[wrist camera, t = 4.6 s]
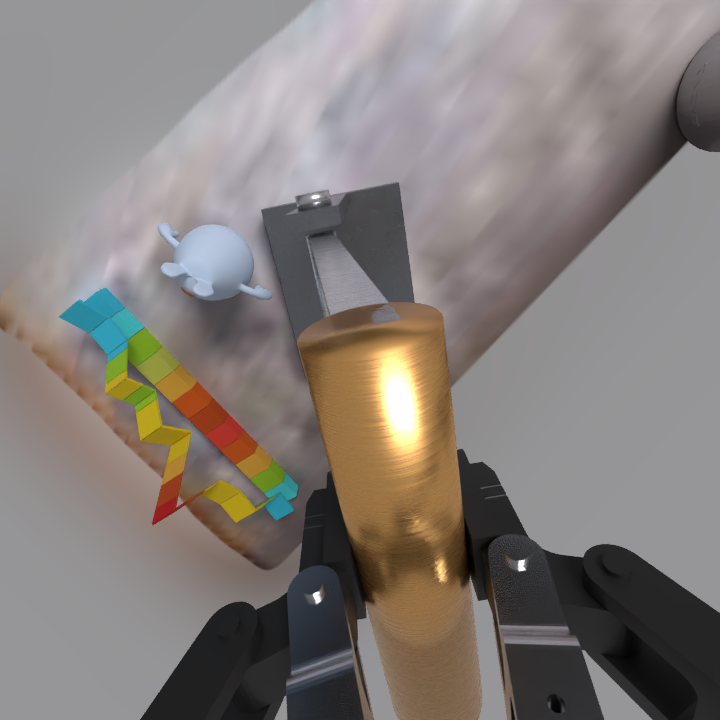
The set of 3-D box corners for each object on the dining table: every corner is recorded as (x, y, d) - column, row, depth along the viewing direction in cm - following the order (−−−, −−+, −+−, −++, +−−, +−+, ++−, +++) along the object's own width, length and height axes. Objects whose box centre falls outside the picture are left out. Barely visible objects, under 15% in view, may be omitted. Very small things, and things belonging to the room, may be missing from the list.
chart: (86, 304, 42) (-49, 369, 28) (107, 286, 41) (-20, 344, 27) (278, 496, 52) (249, 611, 38) (298, 484, 51) (276, 598, 37)
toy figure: (166, 247, 39) (90, 276, 28) (195, 189, 37) (126, 196, 26) (264, 310, 41) (229, 359, 31) (296, 259, 39) (272, 292, 28)
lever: (343, 227, 26) (466, 334, 7) (376, 404, 31) (498, 730, 12) (296, 236, 26) (297, 372, 7) (338, 413, 31) (402, 757, 12)
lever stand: (395, 172, 36) (419, 172, 22) (419, 353, 43) (449, 444, 29) (263, 198, 37) (200, 215, 23) (308, 371, 44) (283, 469, 30)
